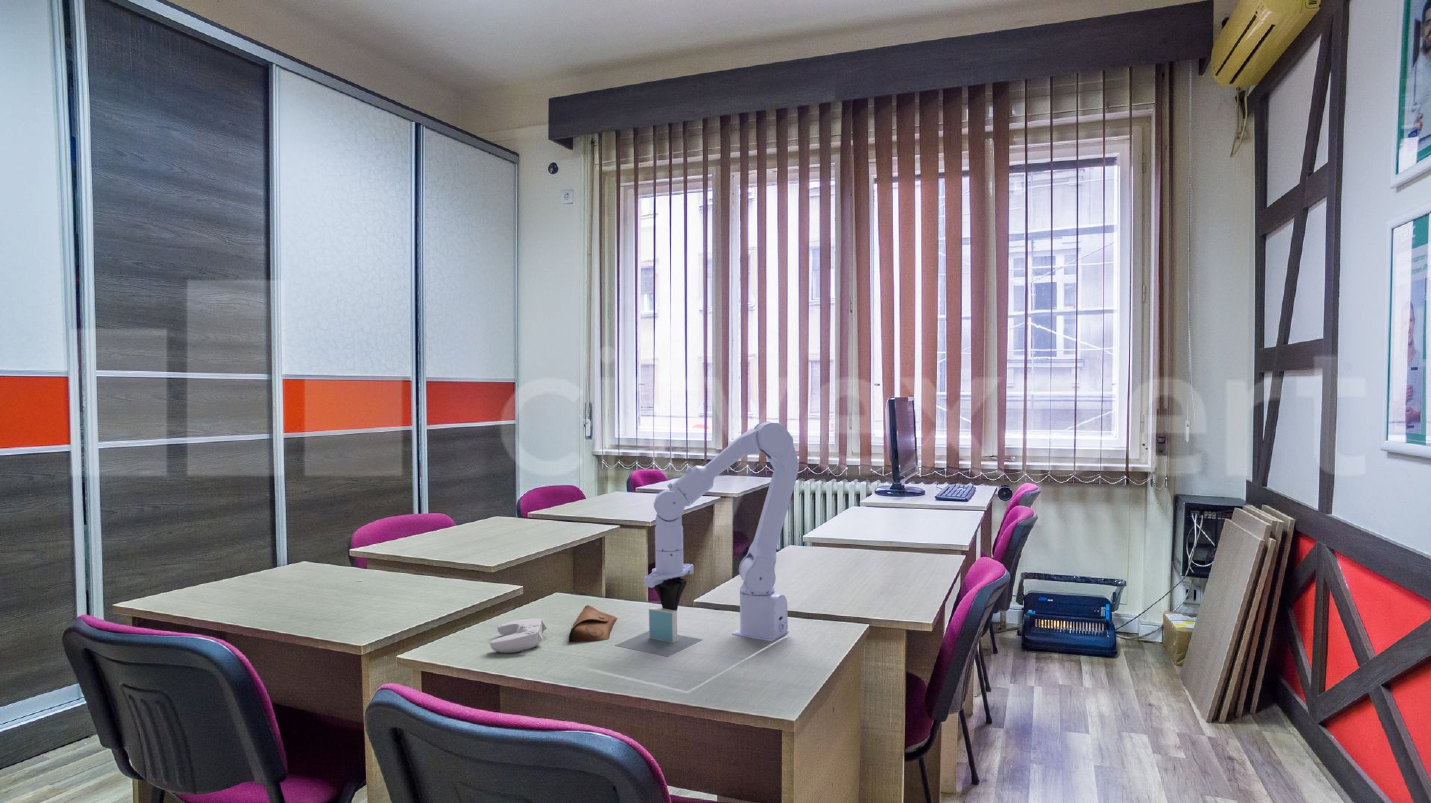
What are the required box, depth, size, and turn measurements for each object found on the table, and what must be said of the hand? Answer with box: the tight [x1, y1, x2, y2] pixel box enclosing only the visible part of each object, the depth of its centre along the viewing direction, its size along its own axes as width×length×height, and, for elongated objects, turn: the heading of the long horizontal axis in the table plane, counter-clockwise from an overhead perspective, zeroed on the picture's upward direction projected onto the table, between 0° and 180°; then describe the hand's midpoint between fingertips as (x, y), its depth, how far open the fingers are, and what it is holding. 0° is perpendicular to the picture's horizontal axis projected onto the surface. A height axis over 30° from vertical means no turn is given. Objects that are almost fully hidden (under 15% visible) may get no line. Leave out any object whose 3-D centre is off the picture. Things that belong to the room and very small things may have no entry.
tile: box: [648, 606, 678, 643], centre depth 155 cm, size 6×2×6 cm, turn 57°
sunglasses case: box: [568, 604, 619, 643], centre depth 163 cm, size 18×7×7 cm
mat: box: [614, 630, 704, 658], centre depth 153 cm, size 13×12×1 cm
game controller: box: [489, 618, 548, 654], centre depth 155 cm, size 14×4×10 cm
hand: (670, 615), depth 157 cm, fingers closed
